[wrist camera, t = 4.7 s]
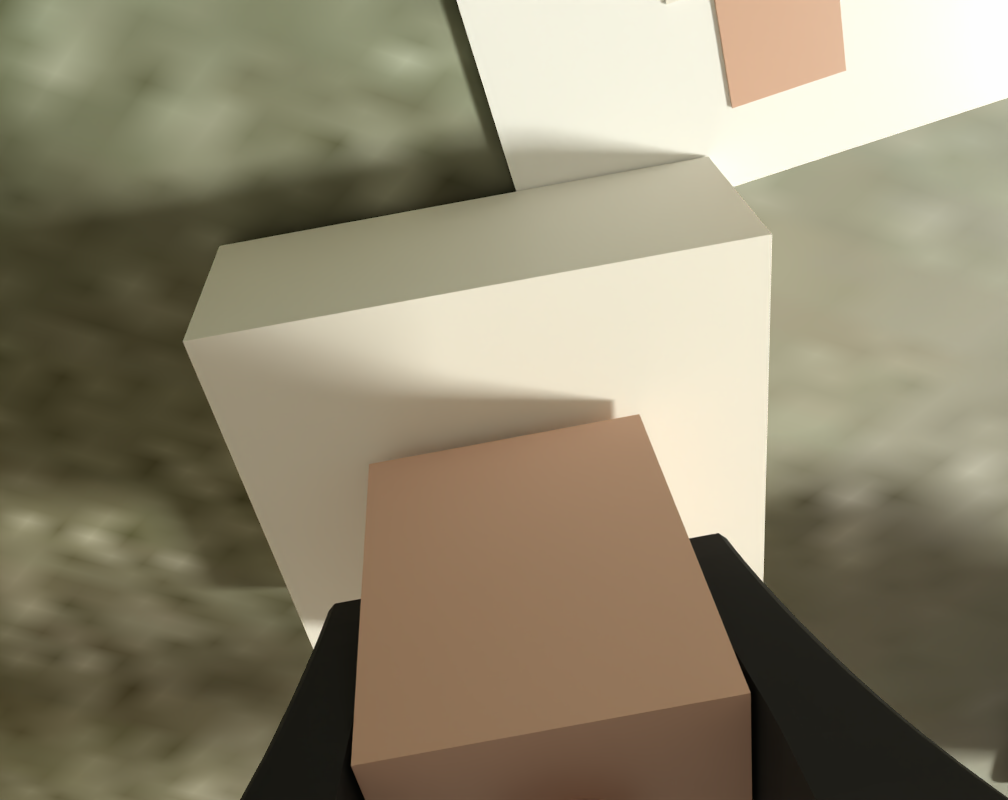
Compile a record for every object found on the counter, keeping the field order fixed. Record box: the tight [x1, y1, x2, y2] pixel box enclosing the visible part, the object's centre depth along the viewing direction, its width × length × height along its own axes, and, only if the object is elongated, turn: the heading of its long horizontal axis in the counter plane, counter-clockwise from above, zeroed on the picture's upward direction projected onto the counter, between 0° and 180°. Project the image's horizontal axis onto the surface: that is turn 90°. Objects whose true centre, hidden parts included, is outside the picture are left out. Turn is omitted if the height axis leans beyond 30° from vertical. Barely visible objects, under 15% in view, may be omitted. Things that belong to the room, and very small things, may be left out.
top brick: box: [351, 414, 752, 800], centre depth 12 cm, size 4×4×6 cm
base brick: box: [183, 157, 772, 649], centre depth 15 cm, size 8×8×3 cm
